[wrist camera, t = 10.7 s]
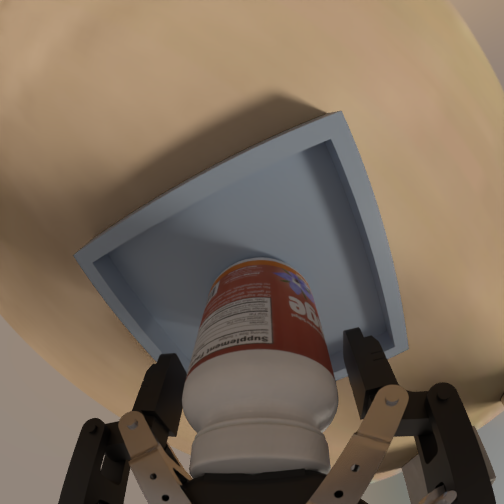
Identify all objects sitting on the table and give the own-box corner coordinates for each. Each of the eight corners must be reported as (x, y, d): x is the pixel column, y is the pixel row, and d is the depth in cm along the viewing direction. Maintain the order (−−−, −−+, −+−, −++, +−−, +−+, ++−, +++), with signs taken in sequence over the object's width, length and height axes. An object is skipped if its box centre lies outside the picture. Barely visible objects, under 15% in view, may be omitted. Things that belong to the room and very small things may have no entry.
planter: (473, 415, 29) (508, 499, 11) (474, 426, 31) (503, 499, 14) (391, 462, 33) (411, 549, 16) (401, 467, 36) (420, 543, 18)
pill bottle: (320, 322, 18) (357, 484, 8) (232, 346, 19) (216, 501, 9) (295, 238, 15) (347, 428, 5) (192, 271, 16) (127, 448, 6)
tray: (327, 113, 13) (341, 110, 11) (396, 327, 19) (408, 349, 17) (92, 238, 16) (73, 255, 14) (214, 392, 22) (211, 415, 20)
